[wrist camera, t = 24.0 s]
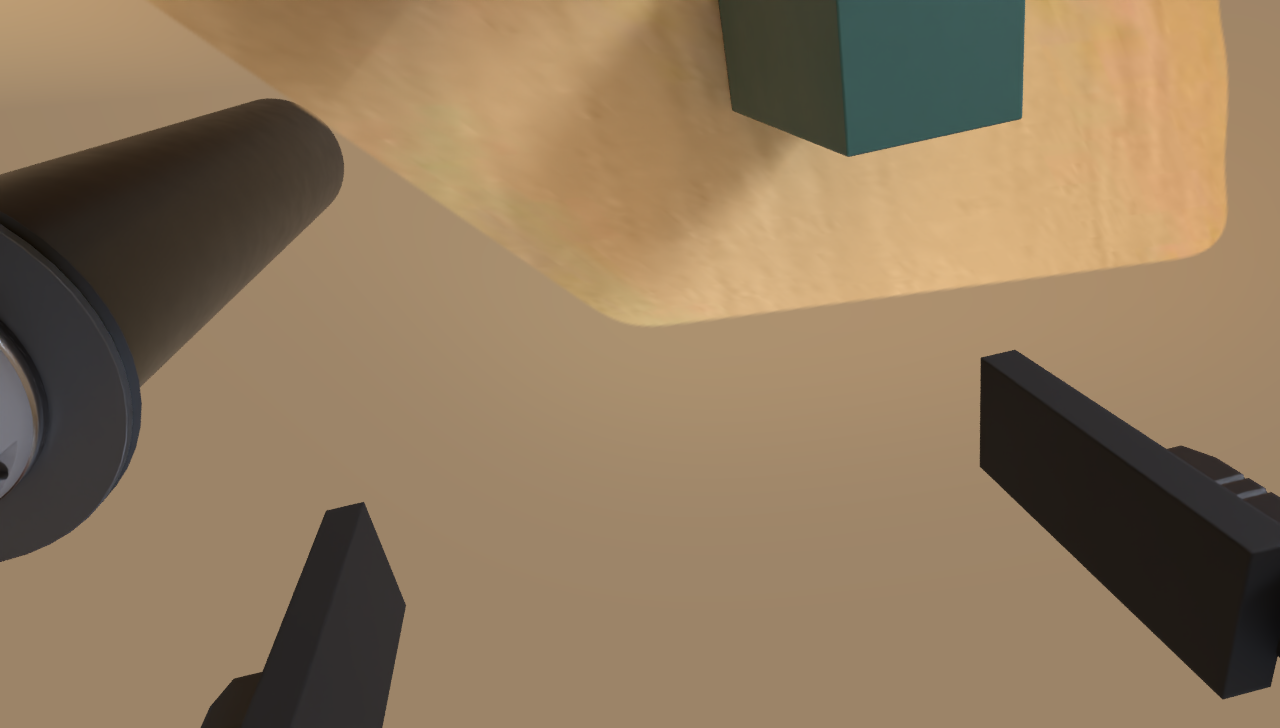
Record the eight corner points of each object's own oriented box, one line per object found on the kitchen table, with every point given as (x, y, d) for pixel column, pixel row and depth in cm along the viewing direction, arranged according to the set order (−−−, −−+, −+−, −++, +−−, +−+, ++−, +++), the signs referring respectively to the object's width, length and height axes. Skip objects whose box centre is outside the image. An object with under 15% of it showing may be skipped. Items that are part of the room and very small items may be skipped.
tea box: (847, 157, 27) (829, -104, 24) (732, 111, 41) (710, -56, 38) (1023, 119, 27) (1030, -145, 24) (847, 86, 42) (836, -81, 38)
